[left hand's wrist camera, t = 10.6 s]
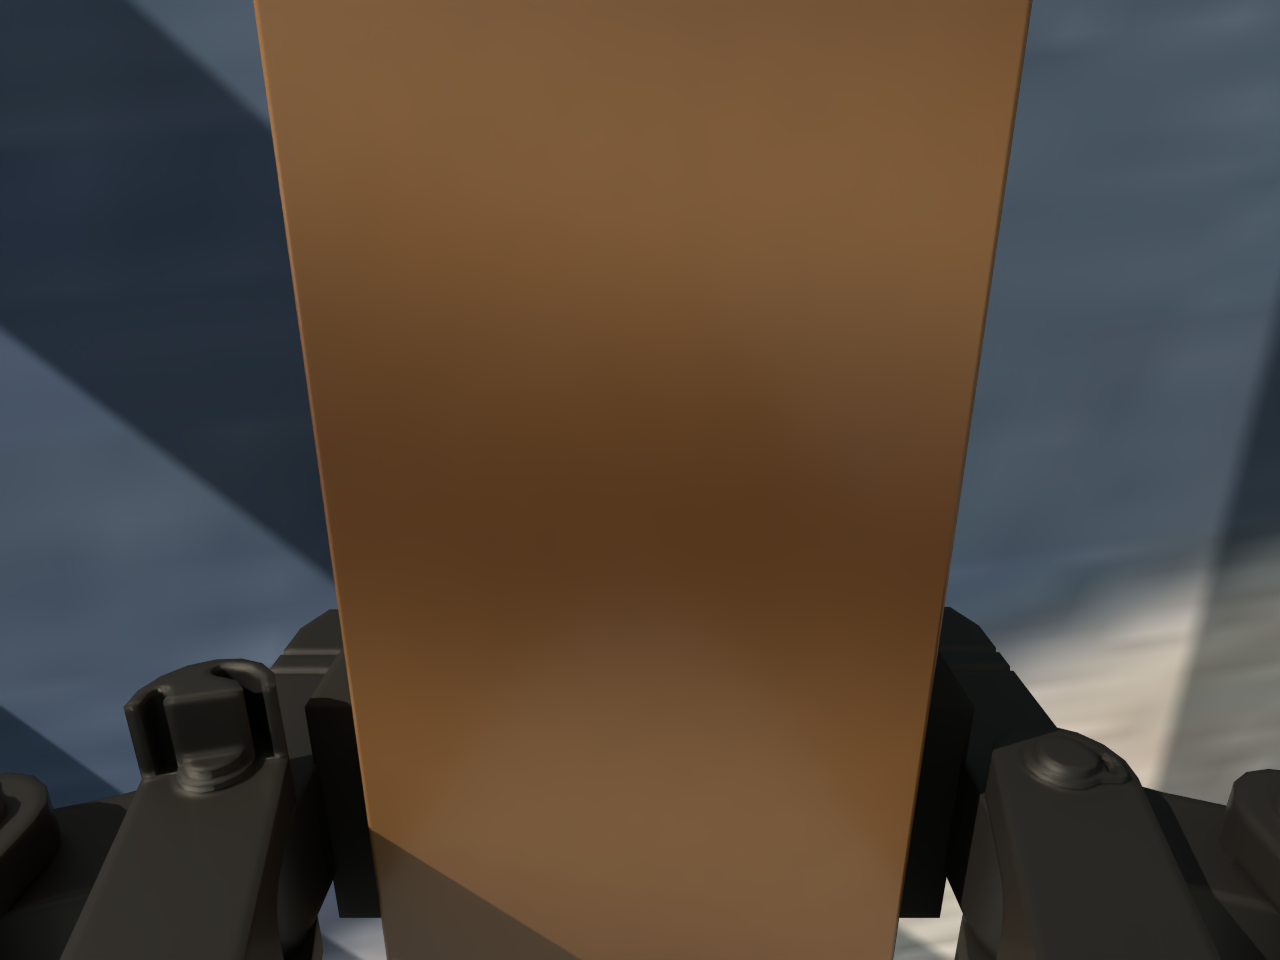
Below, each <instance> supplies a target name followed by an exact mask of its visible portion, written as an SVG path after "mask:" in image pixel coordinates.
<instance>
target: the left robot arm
mask: <svg viewBox="0 0 1280 960" xmlns="http://www.w3.org/2000/svg"><path fill="white" fill-rule="evenodd" d="M124 711H125V715H126V719H127V723H128V727H129V730H130V734H131V738H132V742H133V746H134V750H135V754H136V758H137V761H138V765H139V769H140V773H141V777H142V780H141V782H140V784H139V787H138V789H137V791H133V792H129V793H126V794H122V795H119V796H114V797H109V798H105V799H100V800H95V801H90V802H86V803H81V804H76V805H72V806H67V807H62V808H57V809H53V806H52V803H51V800H50V797H49V793H48V790H47V787H46V785H44V784H43V783H42V782H41V781H39V780H38V779H37V778H36V777H35V776H31V775H24V774H17V773H5V774H0V960H322V955H323V947H322V939H321V932H320V926H319V921H318V913H319V911H320V908H321V906H322V904H323V902H324V899H325V897H326V895H327V892H328V890H329V888H330V886H331V883H332V881H334V887H335V893H336V899H337V905H338V911H339V917H340V918H381V912H380V905H379V898H378V891H377V884H376V877H375V869H374V862H373V855H372V848H371V841H370V834H369V826H368V819H367V812H366V805H365V798H364V790H363V783H362V776H361V769H360V762H359V755H358V747H357V740H356V733H355V726H354V719H353V712H352V704H351V697H350V690H349V683H348V676H347V669H346V661H345V654H344V647H343V640H342V633H341V625H340V618H339V611H338V610H328V611H327V612H325V613H324V614H322V615H321V616H319V617H318V618H316V619H314V620H313V621H311V622H310V623H308V624H307V625H305V626H304V627H302V628H301V629H300V630H299V631H298V633H297V634H296V635H295V637H294V638H293V639H292V641H291V642H290V643H289V645H288V646H287V647H286V648H285V650H284V655H280V656H279V658H278V659H277V660H276V662H275V663H274V664H273V666H272V667H271V668H270V669H269V668H267V667H266V666H265V665H264V664H262V663H259V662H254V661H250V660H246V659H217V660H212V661H207V662H202V663H198V664H193V665H189V666H186V667H183V668H181V669H178V670H176V671H173V672H171V673H168V674H165V675H163V676H160V677H159V678H157V679H156V680H154V681H153V682H151V683H149V684H148V685H146V686H145V687H143V688H142V689H140V690H138V691H137V692H136V693H135V695H134V696H133V697H132V698H131V699H130V700H129V701H128V702H127V704H126V705H125V706H124ZM946 877H947V879H948V881H949V883H950V885H951V888H952V890H953V892H954V894H955V897H956V899H957V901H958V903H959V906H960V908H961V910H962V912H963V915H962V921H961V926H960V932H959V938H958V943H957V949H956V954H955V960H1280V770H1274V769H1265V770H1258V771H1251V772H1246V773H1245V774H1244V775H1242V776H1241V777H1240V778H1239V779H1237V780H1236V781H1235V782H1234V784H1233V787H1232V791H1231V794H1230V797H1229V800H1228V803H1227V806H1226V805H1221V804H1216V803H1211V802H1207V801H1202V800H1197V799H1192V798H1187V797H1183V796H1178V795H1173V794H1168V793H1164V792H1160V791H1156V790H1152V789H1149V788H1145V787H1142V785H1141V783H1140V781H1139V779H1138V777H1137V776H1136V774H1135V773H1134V772H1133V770H1132V769H1131V768H1130V766H1129V765H1128V764H1127V762H1126V761H1125V760H1124V759H1122V758H1121V757H1120V756H1118V755H1117V754H1116V753H1114V752H1113V751H1112V750H1110V749H1109V748H1108V747H1106V746H1105V745H1103V744H1101V743H1099V742H1097V741H1095V740H1092V739H1090V738H1088V737H1086V736H1084V735H1081V734H1079V733H1077V732H1073V731H1069V730H1065V729H1061V728H1057V727H1056V726H1055V724H1054V723H1053V722H1052V721H1051V719H1050V718H1049V717H1048V715H1047V714H1046V713H1045V711H1044V710H1043V709H1042V707H1041V706H1040V705H1039V704H1038V702H1037V701H1036V700H1035V698H1034V697H1033V696H1032V694H1031V693H1030V692H1029V691H1028V689H1027V688H1026V687H1025V685H1024V684H1023V683H1022V681H1021V680H1020V679H1019V677H1018V676H1017V675H1016V674H1015V672H1014V671H1010V666H1009V664H1008V663H1007V662H1006V660H1005V659H1004V658H1003V657H1002V655H1001V654H1000V653H999V652H996V647H995V646H994V645H993V643H992V642H991V641H990V640H989V638H988V637H987V636H986V634H985V633H984V632H983V630H982V629H981V628H980V626H979V625H977V624H975V623H974V622H972V621H971V620H969V619H968V618H966V617H965V616H963V615H961V614H960V613H958V612H957V611H955V610H954V609H952V608H951V607H944V613H943V619H942V626H941V633H940V640H939V647H938V654H937V661H936V668H935V674H934V681H933V688H932V695H931V702H930V709H929V716H928V723H927V729H926V736H925V743H924V750H923V757H922V764H921V771H920V778H919V785H918V791H917V798H916V805H915V812H914V819H913V826H912V833H911V840H910V846H909V853H908V860H907V867H906V874H905V881H904V888H903V895H902V901H901V908H900V915H899V918H940V913H941V907H942V901H943V895H944V889H945V883H946Z"/></svg>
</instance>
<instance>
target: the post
mask: <svg viewBox="0 0 1280 960" xmlns="http://www.w3.org/2000/svg"><path fill="white" fill-rule="evenodd" d="M253 1H254V8H255V15H256V23H257V30H258V37H259V44H260V51H261V59H262V66H263V73H264V80H265V87H266V94H267V102H268V109H269V116H270V123H271V130H272V137H273V145H274V152H275V159H276V166H277V173H278V181H279V188H280V195H281V202H282V209H283V216H284V224H285V231H286V238H287V245H288V252H289V259H290V267H291V274H292V281H293V288H294V295H295V303H296V310H297V317H298V324H299V331H300V338H301V346H302V353H303V360H304V367H305V374H306V381H307V389H308V396H309V403H310V410H311V417H312V425H313V432H314V439H315V446H316V453H317V460H318V468H319V475H320V482H321V489H322V496H323V503H324V511H325V518H326V525H327V532H328V539H329V547H330V554H331V561H332V568H333V575H334V582H335V590H336V597H337V604H338V611H339V618H340V625H341V633H342V640H343V647H344V654H345V661H346V669H347V676H348V683H349V690H350V697H351V704H352V712H353V719H354V726H355V733H356V740H357V747H358V755H359V762H360V769H361V776H362V783H363V790H364V798H365V805H366V812H367V819H368V826H369V834H370V841H371V848H372V855H373V862H374V869H375V877H376V884H377V891H378V898H379V905H380V912H381V920H382V927H383V934H384V941H385V948H386V956H387V960H893V957H894V950H895V943H896V936H897V929H898V922H899V915H900V908H901V901H902V895H903V888H904V881H905V874H906V867H907V860H908V853H909V846H910V840H911V833H912V826H913V819H914V812H915V805H916V798H917V791H918V785H919V778H920V771H921V764H922V757H923V750H924V743H925V736H926V729H927V723H928V716H929V709H930V702H931V695H932V688H933V681H934V674H935V668H936V661H937V654H938V647H939V640H940V633H941V626H942V619H943V613H944V606H945V599H946V592H947V585H948V578H949V571H950V564H951V558H952V551H953V544H954V537H955V530H956V523H957V516H958V509H959V503H960V496H961V489H962V482H963V475H964V468H965V461H966V454H967V447H968V441H969V434H970V427H971V420H972V413H973V406H974V399H975V392H976V386H977V379H978V372H979V365H980V358H981V351H982V344H983V337H984V331H985V324H986V317H987V310H988V303H989V296H990V289H991V282H992V275H993V269H994V262H995V255H996V248H997V241H998V234H999V227H1000V220H1001V214H1002V207H1003V200H1004V193H1005V186H1006V179H1007V172H1008V165H1009V159H1010V152H1011V145H1012V138H1013V131H1014V124H1015V117H1016V110H1017V104H1018V97H1019V90H1020V83H1021V76H1022V69H1023V62H1024V55H1025V48H1026V42H1027V35H1028V28H1029V21H1030V14H1031V7H1032V0H253Z"/></svg>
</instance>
